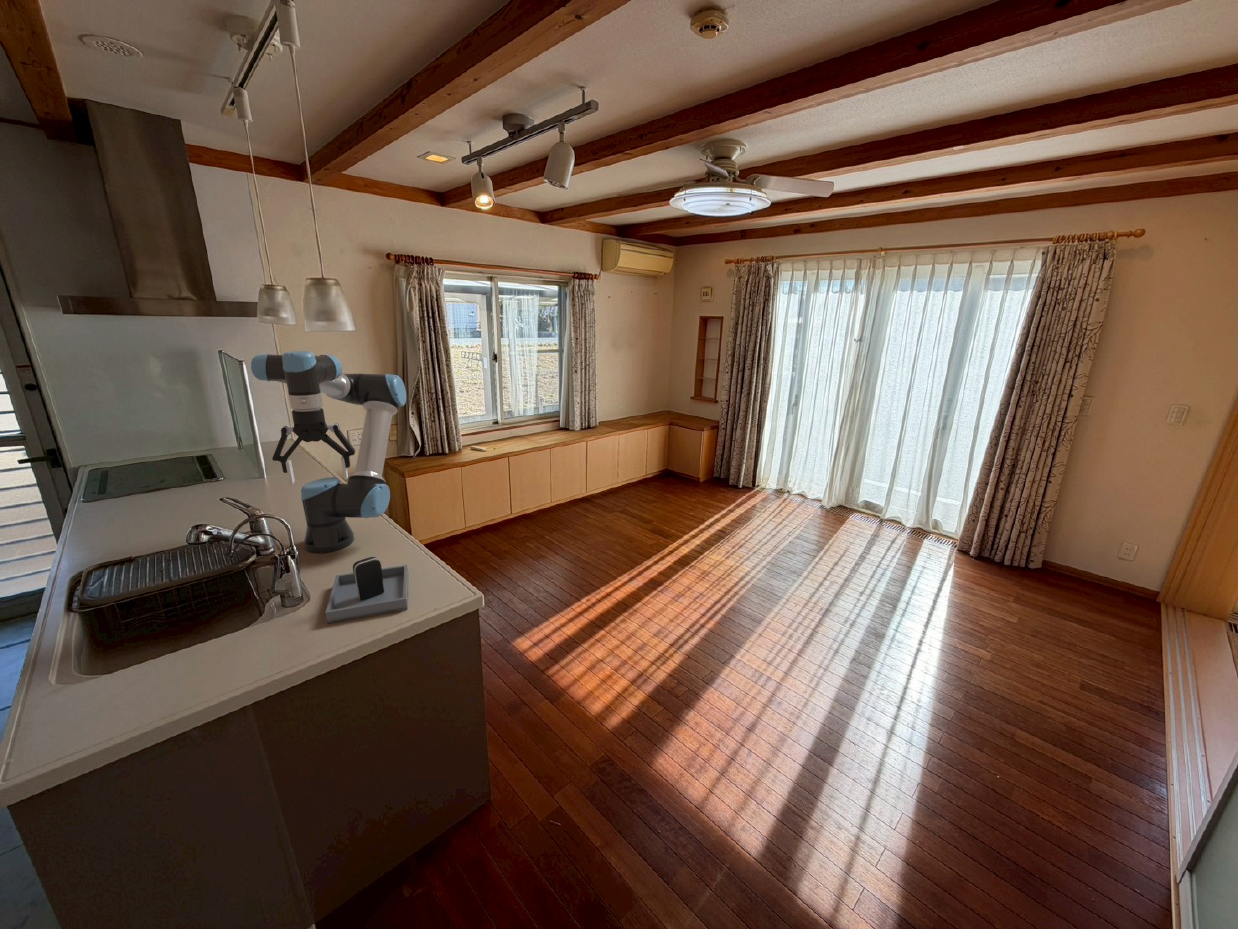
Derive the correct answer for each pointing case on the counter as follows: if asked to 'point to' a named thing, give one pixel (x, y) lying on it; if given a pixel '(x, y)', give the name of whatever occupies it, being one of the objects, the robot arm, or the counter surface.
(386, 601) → the tray
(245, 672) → the counter surface
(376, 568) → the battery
